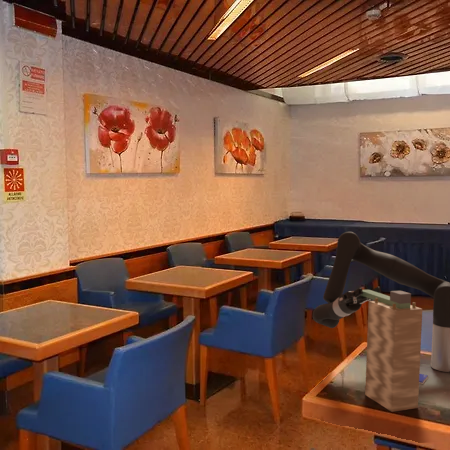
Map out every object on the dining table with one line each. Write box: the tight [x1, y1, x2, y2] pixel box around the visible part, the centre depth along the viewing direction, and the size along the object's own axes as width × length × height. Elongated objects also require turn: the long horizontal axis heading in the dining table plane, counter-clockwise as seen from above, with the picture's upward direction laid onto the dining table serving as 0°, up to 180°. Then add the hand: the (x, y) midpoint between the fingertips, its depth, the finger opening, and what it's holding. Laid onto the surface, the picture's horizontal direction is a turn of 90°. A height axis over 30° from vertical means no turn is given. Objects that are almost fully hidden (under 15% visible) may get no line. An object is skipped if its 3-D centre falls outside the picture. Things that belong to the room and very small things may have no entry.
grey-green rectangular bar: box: [361, 289, 412, 309], centre depth 173 cm, size 22×4×5 cm, turn 20°
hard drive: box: [419, 373, 429, 385], centre depth 192 cm, size 2×8×12 cm
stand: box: [364, 298, 423, 413], centre depth 169 cm, size 14×10×34 cm
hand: (370, 290), depth 179 cm, fingers open, 7 cm apart
